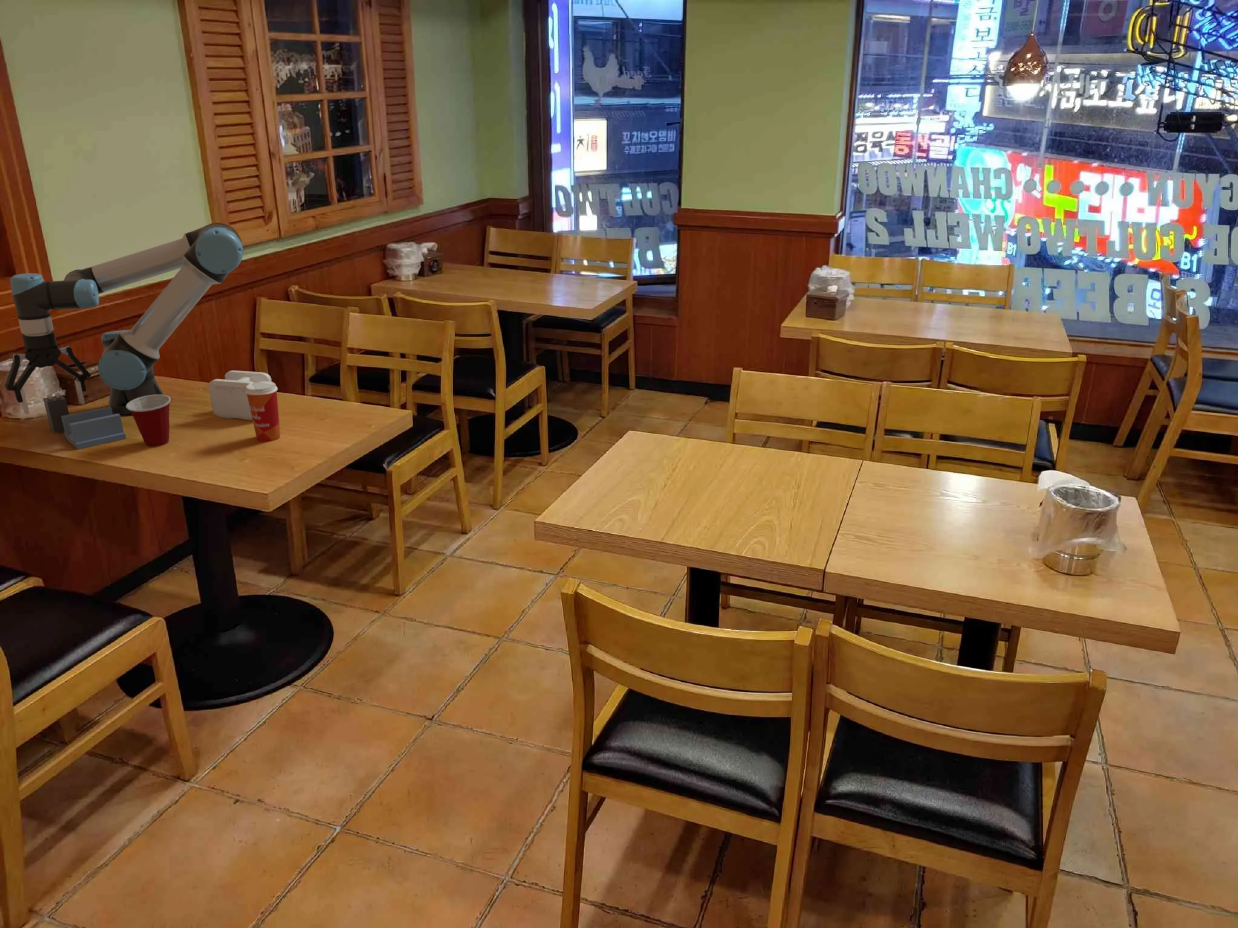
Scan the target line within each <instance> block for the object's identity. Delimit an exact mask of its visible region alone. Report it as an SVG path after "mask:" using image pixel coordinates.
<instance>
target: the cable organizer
mask: <svg viewBox="0 0 1238 928" xmlns="http://www.w3.org/2000/svg"><path fill="white" fill-rule="evenodd" d="M224 374H225V375H224V379H220V378H216V379H213V380H211V381H209V383H208V391H209V397H210V402H211V404H210V405H211V408H212V412H213V414H214V415H215V416H217V417H220V418H222V419H242V420H244V421H245V420H246V421H253V420H252V415H251V411H250V406H249V402H248V397H247V394H246V393H245V390H246V386H247V385H249V384H252V383H256V382H257V383H259V382H262V381H269V382H273V381H272V378H271V375H269V374H268V373H267V372H261V371H260V372H257V371H247V370H245V371H243V370H229V371H228V372H226V373H224Z"/></svg>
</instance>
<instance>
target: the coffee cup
mask: <svg viewBox="0 0 1238 928" xmlns="http://www.w3.org/2000/svg"><path fill="white" fill-rule="evenodd" d="M278 388H279V387H277V385H276V383H275V382H273V381H272V382H269V381H262V382H259V383H257V382H256V383H252V384H249V385H247V386H246V390H245V393H246V394H247V397H248V402H249V406H250V411H251V415H252V420H251V421H252V425H253V428H254V432H255V436H256V439H257V441H259V442H273V441H275V440H279V439H280V436H281V432H280V431H281V429H280V417H279V416H280V414H279V404H278V392H277V391H278Z"/></svg>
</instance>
